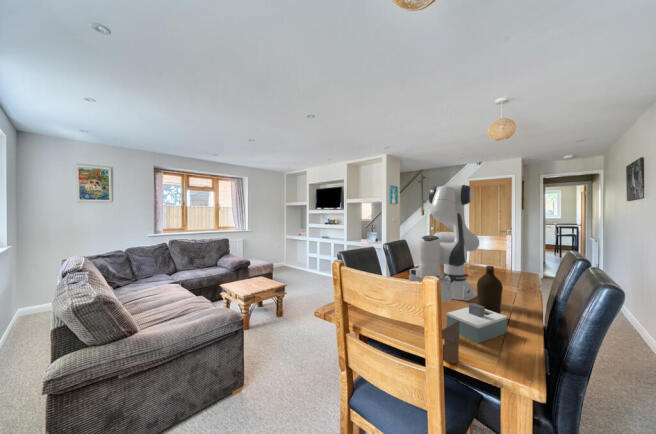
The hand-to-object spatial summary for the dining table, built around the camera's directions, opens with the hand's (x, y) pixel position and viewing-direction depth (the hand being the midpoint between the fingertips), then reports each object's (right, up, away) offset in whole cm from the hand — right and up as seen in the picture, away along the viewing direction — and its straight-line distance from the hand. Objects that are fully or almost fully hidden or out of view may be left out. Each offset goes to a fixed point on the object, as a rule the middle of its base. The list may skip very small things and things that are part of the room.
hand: (428, 305), depth 110 cm
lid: (+20, -5, -1) cm, 21 cm away
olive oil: (+35, -11, +14) cm, 40 cm away
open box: (+20, -11, 0) cm, 23 cm away
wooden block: (-3, -11, -20) cm, 23 cm away
